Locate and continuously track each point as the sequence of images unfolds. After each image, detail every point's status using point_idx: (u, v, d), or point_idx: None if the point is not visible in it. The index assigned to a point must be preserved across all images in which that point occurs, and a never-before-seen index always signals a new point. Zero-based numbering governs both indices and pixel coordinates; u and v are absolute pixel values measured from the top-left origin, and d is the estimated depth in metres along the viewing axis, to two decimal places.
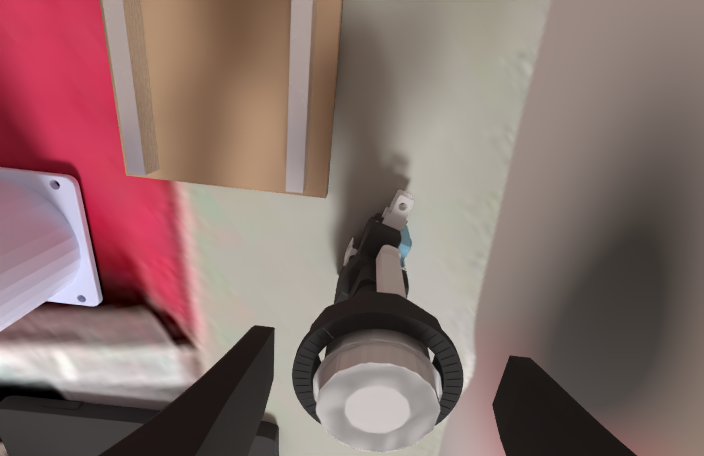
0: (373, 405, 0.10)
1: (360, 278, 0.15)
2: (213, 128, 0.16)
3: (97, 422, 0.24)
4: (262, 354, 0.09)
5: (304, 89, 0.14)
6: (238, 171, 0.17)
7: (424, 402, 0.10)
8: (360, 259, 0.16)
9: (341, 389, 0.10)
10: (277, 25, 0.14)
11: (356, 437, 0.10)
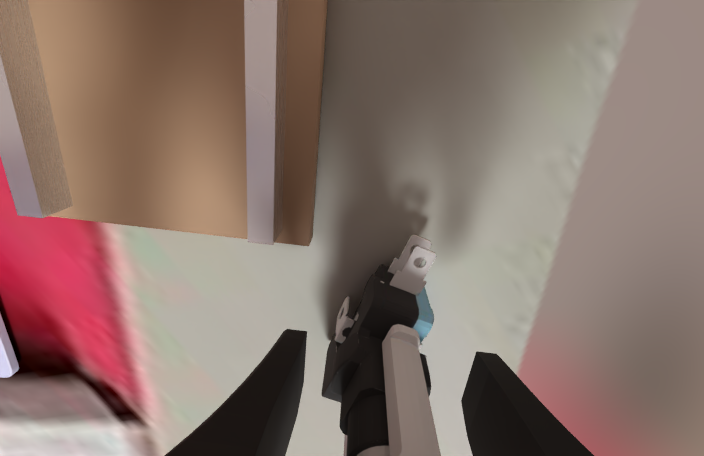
0: None
1: (360, 383, 0.10)
2: (144, 149, 0.11)
3: None
4: (298, 358, 0.09)
5: (269, 92, 0.09)
6: (183, 209, 0.12)
7: None
8: (359, 346, 0.10)
9: None
10: None
11: None
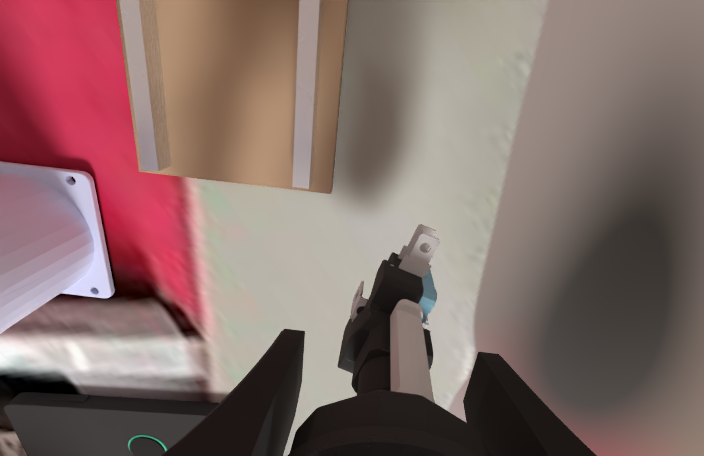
0: None
1: (369, 346, 0.11)
2: (223, 127, 0.17)
3: (104, 412, 0.25)
4: (296, 358, 0.09)
5: (311, 89, 0.15)
6: (246, 167, 0.18)
7: None
8: (370, 317, 0.12)
9: None
10: (285, 28, 0.15)
11: None
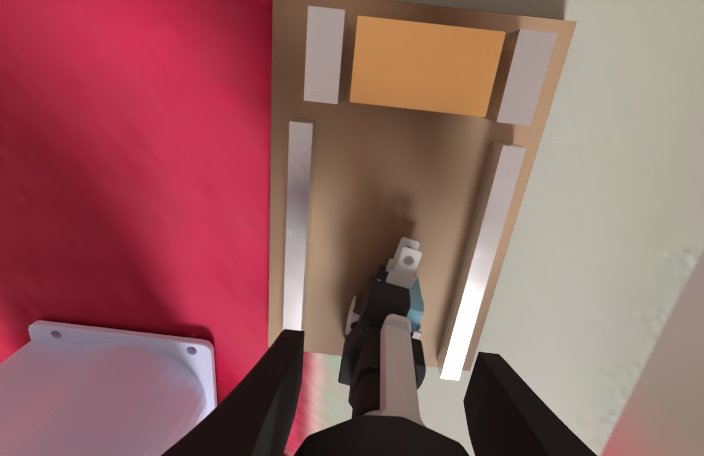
0: None
1: (361, 364, 0.12)
2: None
3: None
4: (296, 358, 0.09)
5: (478, 297, 0.14)
6: None
7: None
8: (360, 335, 0.13)
9: None
10: (448, 229, 0.14)
11: None
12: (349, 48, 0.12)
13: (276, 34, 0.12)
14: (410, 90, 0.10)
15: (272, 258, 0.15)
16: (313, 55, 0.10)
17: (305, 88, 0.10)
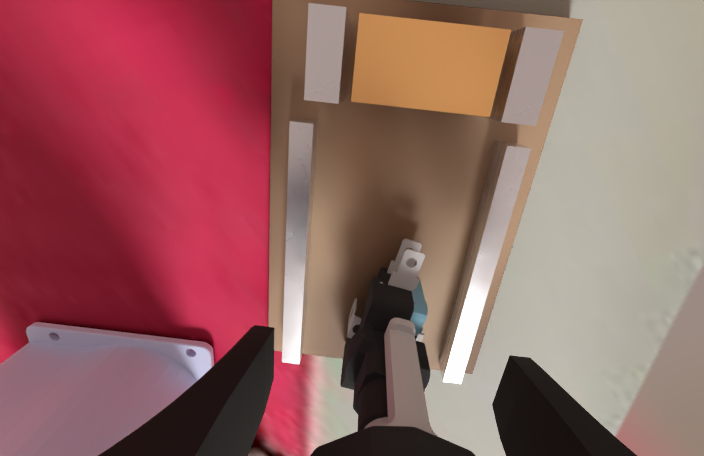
0: None
1: (365, 370, 0.11)
2: None
3: None
4: (262, 354, 0.09)
5: (481, 300, 0.14)
6: None
7: None
8: (364, 339, 0.12)
9: None
10: (451, 231, 0.14)
11: None
12: (350, 47, 0.12)
13: (276, 32, 0.12)
14: (413, 90, 0.10)
15: (272, 260, 0.15)
16: (314, 53, 0.10)
17: (305, 87, 0.10)
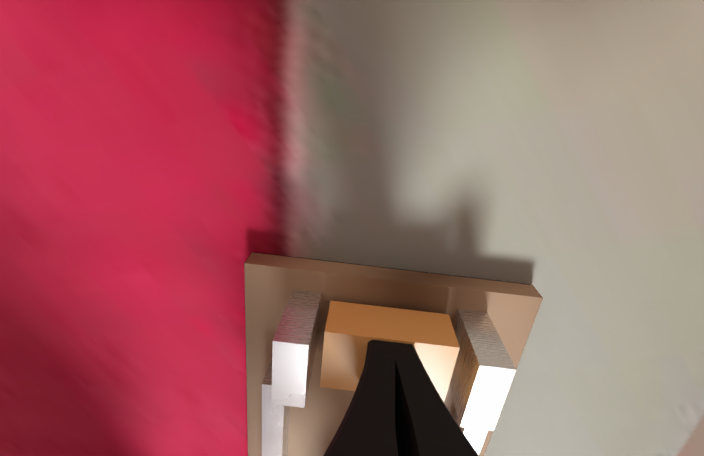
0: None
1: None
2: None
3: None
4: None
5: None
6: None
7: None
8: None
9: None
10: None
11: None
12: (321, 309, 0.12)
13: (249, 297, 0.12)
14: None
15: None
16: (279, 374, 0.10)
17: (272, 396, 0.10)
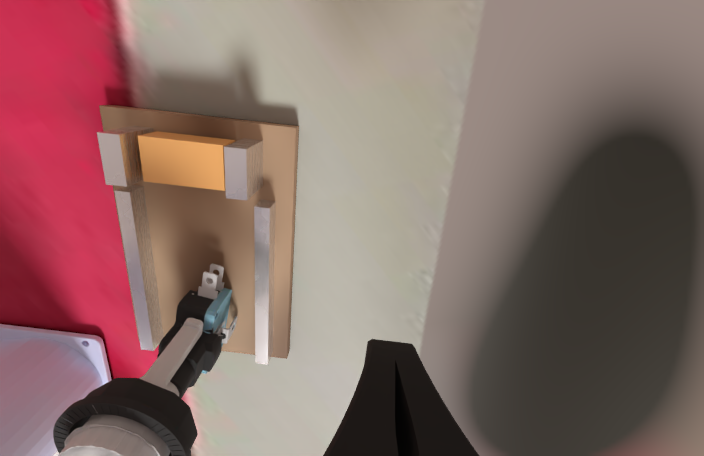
0: None
1: (160, 351, 0.18)
2: None
3: None
4: None
5: (266, 305, 0.20)
6: None
7: None
8: (170, 332, 0.19)
9: None
10: (247, 258, 0.20)
11: None
12: None
13: None
14: (177, 175, 0.17)
15: None
16: (106, 159, 0.16)
17: (105, 177, 0.16)
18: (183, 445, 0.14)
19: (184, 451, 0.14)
